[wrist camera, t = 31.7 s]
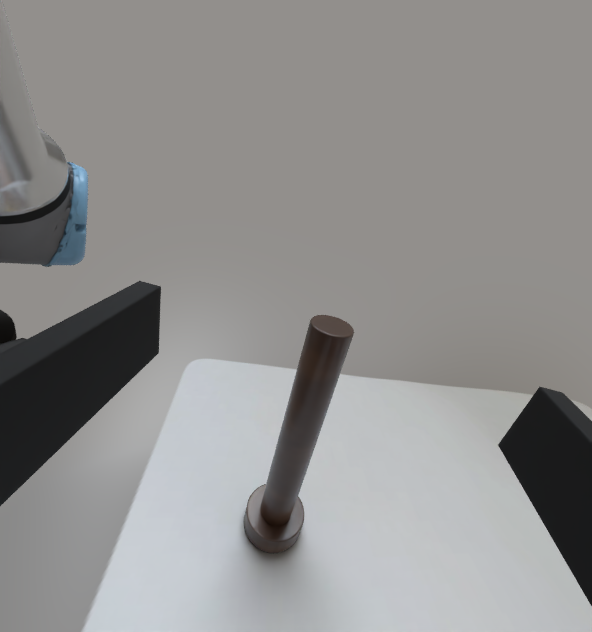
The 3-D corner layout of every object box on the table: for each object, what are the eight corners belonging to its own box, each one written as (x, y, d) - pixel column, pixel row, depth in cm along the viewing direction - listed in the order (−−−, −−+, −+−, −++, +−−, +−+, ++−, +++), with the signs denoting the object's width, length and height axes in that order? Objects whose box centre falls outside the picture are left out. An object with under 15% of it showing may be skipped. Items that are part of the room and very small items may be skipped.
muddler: (235, 543, 22) (285, 332, 15) (252, 487, 26) (298, 299, 19) (295, 561, 22) (376, 357, 14) (303, 502, 26) (369, 318, 18)
